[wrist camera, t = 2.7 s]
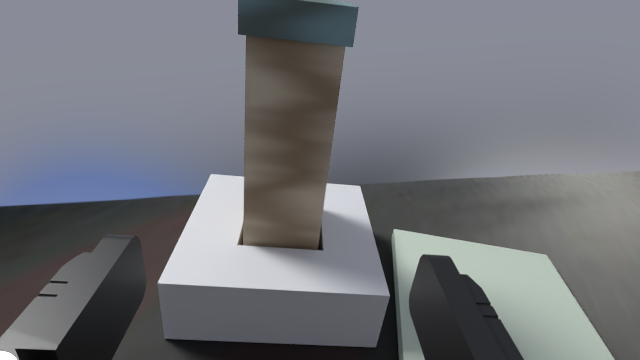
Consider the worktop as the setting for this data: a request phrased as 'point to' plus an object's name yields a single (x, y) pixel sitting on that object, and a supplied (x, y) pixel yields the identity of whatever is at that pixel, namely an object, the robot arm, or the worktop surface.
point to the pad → (502, 297)
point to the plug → (290, 114)
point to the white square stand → (274, 277)
